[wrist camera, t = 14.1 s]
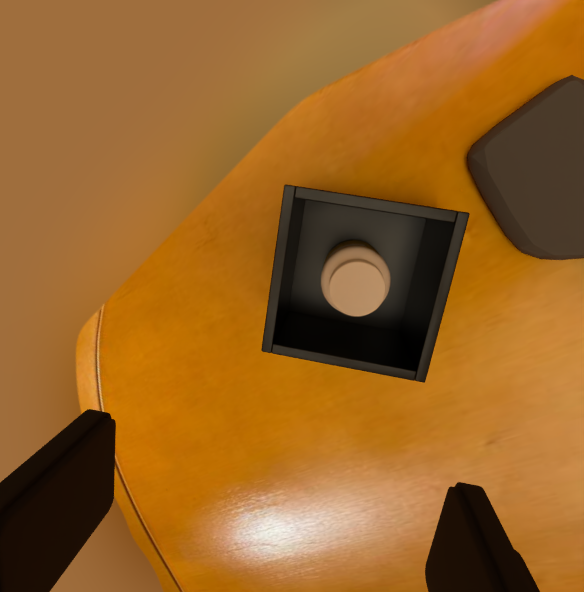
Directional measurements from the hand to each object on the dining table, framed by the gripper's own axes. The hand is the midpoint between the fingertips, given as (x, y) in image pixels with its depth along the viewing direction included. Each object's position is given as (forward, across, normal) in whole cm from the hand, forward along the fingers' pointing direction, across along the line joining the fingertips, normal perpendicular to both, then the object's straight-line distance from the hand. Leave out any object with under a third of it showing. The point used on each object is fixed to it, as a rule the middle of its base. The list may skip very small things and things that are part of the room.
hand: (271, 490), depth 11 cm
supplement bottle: (+28, -3, -2) cm, 28 cm away
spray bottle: (+28, -22, -8) cm, 37 cm away
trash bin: (+28, -3, -2) cm, 29 cm away
